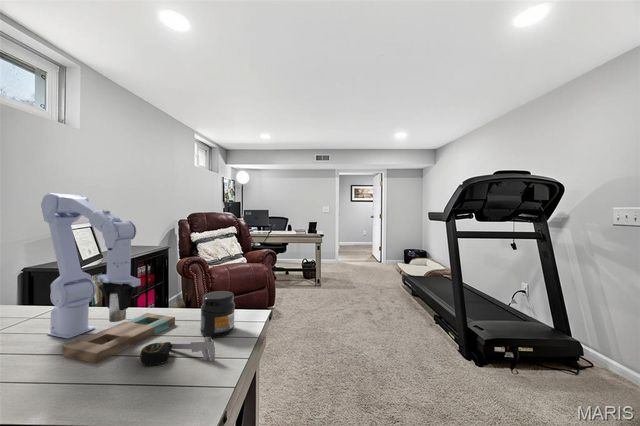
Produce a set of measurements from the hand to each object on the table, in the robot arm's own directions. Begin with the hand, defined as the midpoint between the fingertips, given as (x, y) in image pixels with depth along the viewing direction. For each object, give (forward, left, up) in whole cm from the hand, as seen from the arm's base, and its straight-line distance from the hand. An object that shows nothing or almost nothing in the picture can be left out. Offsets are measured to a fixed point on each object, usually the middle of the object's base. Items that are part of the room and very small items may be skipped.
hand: (118, 308), depth 83 cm
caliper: (+23, +1, -10) cm, 25 cm away
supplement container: (+23, +16, -10) cm, 30 cm away
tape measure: (+19, -4, -10) cm, 22 cm away
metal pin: (0, 0, -3) cm, 3 cm away
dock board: (0, +3, -10) cm, 10 cm away
